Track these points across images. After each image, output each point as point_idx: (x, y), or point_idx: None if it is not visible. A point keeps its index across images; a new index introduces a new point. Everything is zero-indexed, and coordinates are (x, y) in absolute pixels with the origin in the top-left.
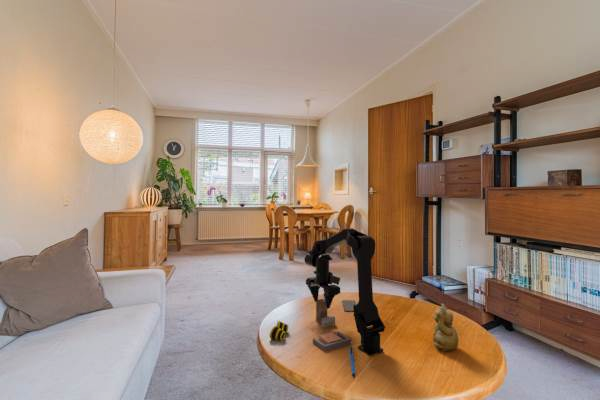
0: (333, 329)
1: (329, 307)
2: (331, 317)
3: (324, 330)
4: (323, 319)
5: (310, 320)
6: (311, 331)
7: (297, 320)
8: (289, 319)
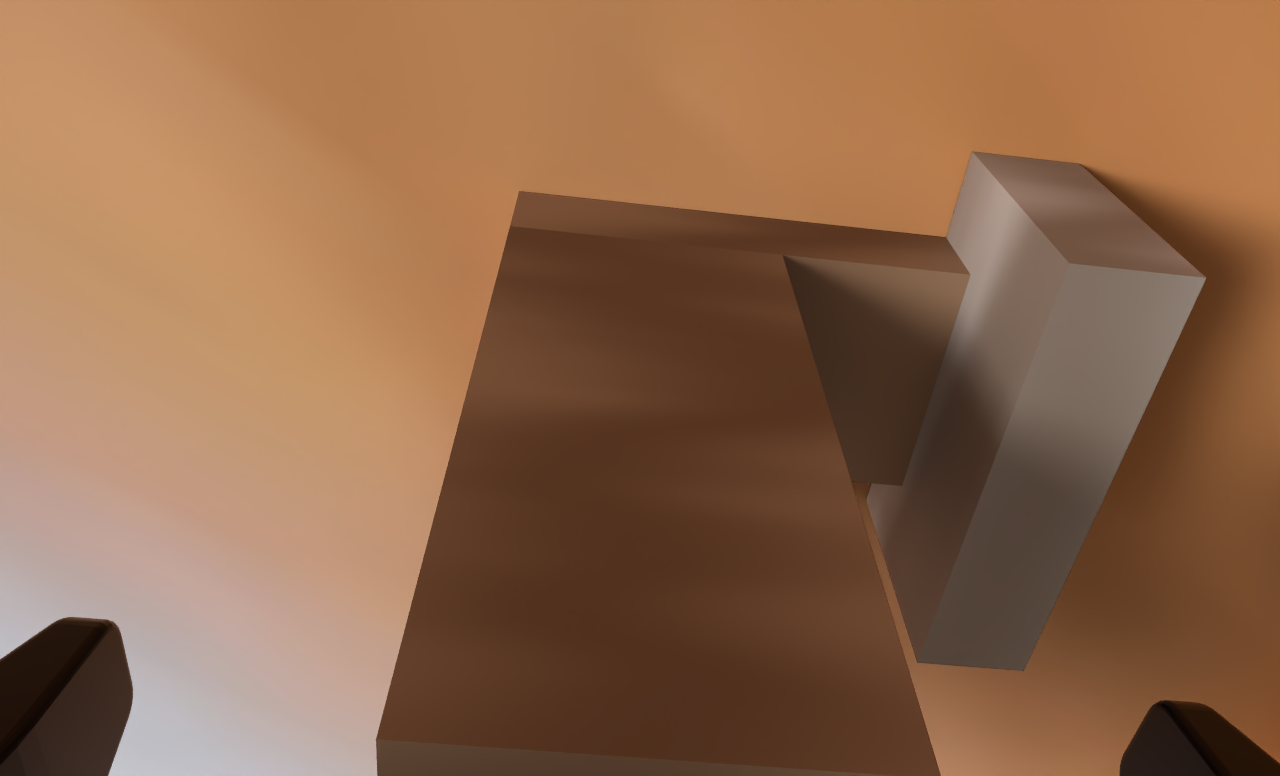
0: (1221, 400)
1: (1230, 742)
2: (1135, 425)
3: (1076, 575)
4: (1019, 660)
5: (423, 500)
6: None
7: (280, 694)
8: (156, 770)
